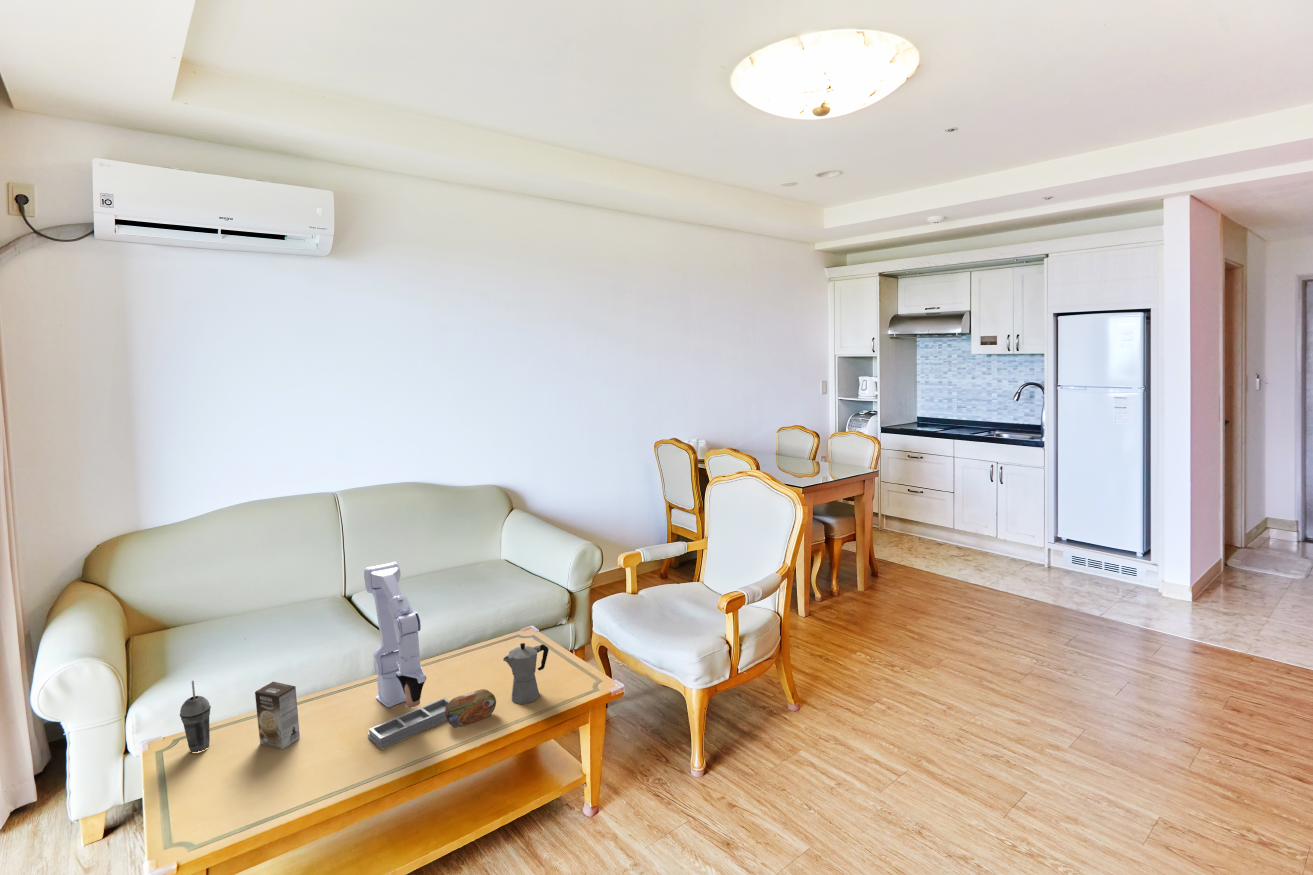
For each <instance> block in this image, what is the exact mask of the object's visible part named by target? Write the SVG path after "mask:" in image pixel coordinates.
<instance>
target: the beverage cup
mask: <svg viewBox="0 0 1313 875" xmlns="http://www.w3.org/2000/svg"><path fill="white" fill-rule="evenodd" d="M191 690H192V696H191V697H189V698H187V699H186V700H185V701H184V702H183V704H181V707H180V711H179V717H180V719H181V722H182V723H183V728H184V733H185V736H186V741H187V746H188V748H189V751H191V752H198V751H202V750H205V749H206V748H208V747H209V748H210V742H211V741H210V736H211V735H210V715H211V708H212V707H211V705H210V702H209V699H207V698H206V697H204V696H201V695H196V690H195V681H194V680H191ZM209 748H208V749H209Z"/></svg>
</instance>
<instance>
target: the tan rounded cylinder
mask: <svg viewBox="0 0 1313 875" xmlns="http://www.w3.org/2000/svg"><path fill="white" fill-rule="evenodd" d="M404 702H405V707H407V708H415V707H417V706H419V705H420V704H421V699H420V700H418V701H415V702H413V701H412V699H411V694H410V690H409V687H408V685H407V684H406V685H405V701H404Z"/></svg>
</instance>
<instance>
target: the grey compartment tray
mask: <svg viewBox="0 0 1313 875" xmlns="http://www.w3.org/2000/svg"><path fill="white" fill-rule="evenodd" d="M450 701H451V700H449V699H447V698H446V697H442V698H440V699H437V700H435V701H432V702H430V703H428V704H425V705H423V706H421V707H418V708H416V709H414V710H411V711H408V712H407V713H403V714H401V715H400V716H399V715H398V716H396V717H394V718H392V719H389V720H387V721H384V722H382V723H379V724H377V725H375V726H372V727H370V728H368V731H369V732H368V733H367V738H368V739H370V741H371V742H373V744H375V745H376V746H377V747H378V748H380V749H381V750H384V749H386V748H388V747H390V746H392V745H394V744H396V743H397V744H398V743H399V742H401V741H403V740H406V739H408V738H410V737H412V736H414V735H418V734H419V733H422V732H424V731H425V730H426V731H427V730H428V729H431V728H432V727H435V726H437V725H440V724H442V723H444V722H446V721H447V719H446V717H445V709H446V706H447V704H448V703H449V702H450ZM447 722H448V721H447Z"/></svg>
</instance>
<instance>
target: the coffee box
mask: <svg viewBox="0 0 1313 875" xmlns="http://www.w3.org/2000/svg"><path fill="white" fill-rule="evenodd" d="M296 689H297V688H296V686H295V685H290V684H286V683H280V682H277V681H272V682H270V683H269V684H266V685H264V686H263V687H261V688H260V689H258V690H256V691H254V695H255V696H254V697H255V705H256V706H255V708H256V715H257V716H256V717H257V726H258V727H257V728H258V735H259V736H258V737H259V744H260V745H264V746H267V747H271V748H272V747H273V748H276V749H280V750H284V749H285V748H287V747H288V746H290V745H292V744H293V743H295V741H298V740H299V739H300V738H301V733H300V723H299V722H300V721H299V713H298V712H299V711H298V709H299V708H298V700H297V699H298V698H297V690H296Z"/></svg>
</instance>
